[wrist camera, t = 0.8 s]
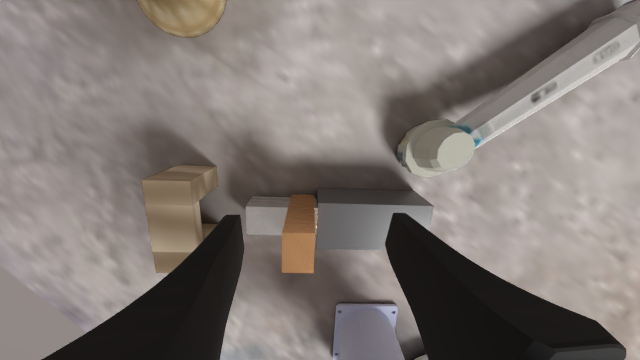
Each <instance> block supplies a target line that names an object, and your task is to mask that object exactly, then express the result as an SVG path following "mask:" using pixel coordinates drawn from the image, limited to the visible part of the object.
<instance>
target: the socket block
mask: <svg viewBox="0 0 640 360" xmlns="http://www.w3.org/2000/svg"><path fill="white" fill-rule="evenodd" d="M141 182H142V188H143V194H144V201H145V207H146V213H147V219H148V226H149V232H150V238H151V244H152V251H153V257H154V263H155V269H156V273H171V272H172V271H173V270H174V269H175V268H176V267H177V266H178V265H179V264H180V263H181V262H182V261H183V260H185V259H186V258H187V257H188V256H189V255H190V254H191V253H192V252H193V251H194V250H195V249H196V248H197V247H198V246H199V244H200V243H201V242H202V241H203V240H204V239H205V238H206V237H207V236H208V235H209V234H210V232H211V231H212V230H213V229H214V228H215V227H216V226H217V224H204V223H201V216H200V205H199V200H200V199H202V198H203V197H204V196H206V195H207V194H208V193H209V192H211V191H212V190H213V189H214V188H216V187H217V186H218V180H217V167H216V166H191V165H178V166H175V167H173V168H170V169H168V170H165V171H163V172H160V173H158V174H155V175H153V176H150V177H148V178H145V179H143V180H141Z"/></svg>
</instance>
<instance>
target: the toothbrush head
mask: <svg viewBox="0 0 640 360" xmlns="http://www.w3.org/2000/svg"><path fill="white" fill-rule="evenodd" d="M639 49H640V0H632V1H629V2H627V3H625V4H624V5H622V6H621V7H619V8H618V9H616V10H615V11H613V12H612V13H610V14H608V15H606V16H603V17H600V18H597V19H595V20H593V21H592V22H591V23H590V25H589V26H588V28H587V29H586V31H584V32H583V33H581V34H580V35H579V36H577V37H576V38H574V39H573V40H572V41H570V42H569V43H567V44H566V45H564V46H563V47H562V48H560V49H559V50H557V51H556V52H555V53H553V54H552V55H550V56H549V57H548V58H546V59H545V60H543V61H542V62H540V63H539V64H538V65H536V66H535V67H533V68H532V69H531V70H529V71H528V72H526V73H525V74H524V75H522V76H521V77H519V78H518V79H516V80H515V81H514V82H512V83H511V84H509V85H508V86H507V87H505V88H504V89H502V90H501V91H500V92H498V93H497V94H495V95H494V96H492V97H491V98H490V99H488V100H487V101H485V102H484V103H483V104H481V105H480V106H478V107H477V108H476V109H474V110H473V111H471V112H470V113H468V114H467V115H466V116H464V117H463V118H461V119H460V120H459V121H457V122H456V123H454V122H452V121H450V120H448V119H440V120H433V121H427V122H425V123H424V124H422V125H417V126H415V127H414V128H412V129H411V130H409V131H408V132H406V135H405V137H404V139H403V140H402V142H401V143H400V145H398V153H397V157H398V159H399V161H400V163H401V164H402V166H404V167H406V168H407V170H408V171H409V172H411V173H413V174H416V175H418V176H420V177H423V178H427V177H433V176H439V175H441V174H442V173H444V172H449V171H454V170H457V169H459V168H461V167H462V166H463V165H465V164H466V163H468V161H469V160H470V158H471V157H472V155H473V154H474V149H476V148H478V147H479V146H481V145H483V144H484V143H486V142H487V141H489V140H491V139H492V138H494V137H496V136H497V135H499V134H500V133H502V132H504V131H505V130H507V129H509V128H510V127H512V126H513V125H515V124H517V123H518V122H520V121H522V120H523V119H525V118H526V117H528V116H530V115H531V114H533V113H535V112H536V111H538V110H539V109H541V108H543V107H544V106H546V105H548V104H549V103H551V102H552V101H554V100H556V99H557V98H559V97H561V96H562V95H564V94H565V93H567V92H569V91H570V90H572V89H574V88H575V87H577V86H578V85H580V84H582V83H583V82H585V81H587V80H588V79H590V78H591V77H593V76H595V75H596V74H598V73H600V72H601V71H603V70H604V69H606V68H608V67H609V66H611V65H613V64H614V63H616V62H617V61H622V60H627V59H630V58H631V57H633V56H634V54H635V53H636V52H637V51H638V50H639Z"/></svg>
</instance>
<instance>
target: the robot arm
mask: <svg viewBox="0 0 640 360" xmlns="http://www.w3.org/2000/svg"><path fill="white" fill-rule="evenodd" d="M385 247H386V250H387V254H388V257H389V260H390V263H391V266H392V268H393V270H394V272H395V275H396V277H397V279H398V281H399V283H400V286H401V288H402V290H403V292H404V294H405V297H406V299H407V301H408V303H409V305H410V308H411V310H412V312H413V315H414V317H415V320H416V323H417V326H418V329H419V332H420V335H421V338H422V341H423V344H424V347H425V350H426V353H427V357H428V360H624V359H625V357H626V348H625V347H624V346H623V345H622V344H620V343H619V342H618V341H617V340H616V339H615V338H614V337H613V336H612V335H611V334H610V333H609V332H608V331H607V330H606V329H605V328H603V327H602V326H601V325H600V324H599V323H598V322H597V321H595V320H592V319H590V318H587V317H585V316H582V315H580V314H577V313H575V312H573V311H570V310H568V309H565V308H563V307H560V306H558V305H555V304H553V303H551V302H549V301H546V300H544V299H542V298H540V297H537V296H535V295H533V294H531V293H529V292H527V291H525V290H523V289H521V288H519V287H517V286H515V285H513V284H511V283H509V282H507V281H505V280H503V279H501V278H499V277H498V276H496V275H494V274H492V273H490V272H489V271H487V270H485V269H484V268H482V267H480V266H479V265H477V264H475V263H474V262H472V261H471V260H469V259H467V258H466V257H464V256H463V255H461V254H460V253H458V252H457V251H456V250H454V249H453V248H451V247H450V246H448V245H447V244H446V243H444V242H443V241H442V240H440V239H439V238H438V237H436V236H435V235H434V234H432V233H431V232H430V231H428V230H427V229H426V228H425V227H423V226H422V225H421V224H419V223H418V222H417V221H416V220H414V219H413V218H412V217H410V216H409V215H408V214H406V213H393V215H392V218H391V222H390V226H389V230H388V234H387V238H386V241H385ZM243 253H244V243H243V234H242V226H241V218H240V215H226V216H224V217H223V219H222V220H221V221H220V222H219V223H218V224H217V226H216V227H215V228H214V229H213V230H212V231H211V232H210V234H209V235H208V236H207V237H206V238H205V239H204V240H203V241H202V242H201V243H200V244H199V246H198V247H197V248H196V249H195V250H194V251H193V252H192V253H191V254H190V255H189V256H188V257H187V258H186V259H185V260H183V261H182V262H181V263H180V264H179V265H178V266H177V267H176V268H175V269H174V270H173V271H172V272H171V273H169V274H168V275H167V276H166V277H165V278H164V279H162V280H161V281H160V282H159V283H158V284H156V285H155V286H154V287H153V288H151V289H150V290H149V291H147V292H146V293H145V294H143V295H142V296H141V297H139V298H138V299H137V300H135V301H134V302H132V303H131V304H130V305H128V306H127V307H126V308H124V309H123V310H121V311H120V312H118V313H117V314H115V315H114V316H112V317H111V318H109V319H108V320H106V321H105V322H103V323H102V324H100V325H99V326H97V327H96V328H94V329H92V330H91V331H89V332H88V333H86V334H84V335H83V336H82V337H79V338H78V339H76V340H74V341H73V342H71V343H69V344H68V345H66V346H64V347H63V348H61V349H59V350H57V351H56V352H54V353H53V354H51V355H49V356H47V357H46V358H44V359H42V360H220V354H221V348H222V343H223V337H224V332H225V327H226V323H227V318H228V315H229V311H230V307H231V304H232V300H233V297H234V293H235V289H236V286H237V282H238V278H239V275H240V271H241V266H242V260H243ZM339 310H341V311H339ZM392 311H394V312H392ZM397 312H398V307H397V305H396V304H337V305H336V314H335V328H334V343H333V357H332V358H333V360H405V359H404V356H403V353H402V351H401V348H400V345H399V343H398V340H397V337H396V335H395V332H394V331H395V325H396V318H397Z"/></svg>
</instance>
